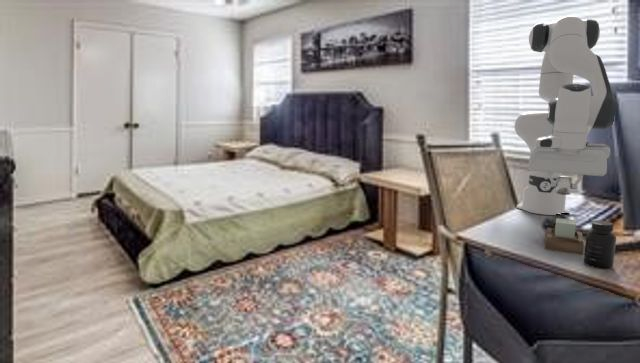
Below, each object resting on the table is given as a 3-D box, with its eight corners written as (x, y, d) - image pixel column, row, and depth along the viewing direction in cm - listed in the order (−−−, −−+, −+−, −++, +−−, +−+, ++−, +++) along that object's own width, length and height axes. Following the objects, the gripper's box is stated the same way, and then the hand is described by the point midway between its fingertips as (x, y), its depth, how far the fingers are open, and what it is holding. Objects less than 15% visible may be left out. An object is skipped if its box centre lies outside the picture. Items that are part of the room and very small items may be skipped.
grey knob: (555, 191, 133) (557, 175, 132) (570, 192, 131) (572, 176, 130) (555, 193, 130) (557, 177, 129) (570, 195, 128) (572, 178, 127)
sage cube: (554, 233, 136) (556, 218, 135) (573, 235, 134) (575, 220, 133) (554, 238, 132) (556, 222, 131) (573, 240, 130) (575, 224, 129)
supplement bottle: (590, 258, 124) (596, 217, 122) (617, 266, 119) (623, 223, 116) (578, 263, 121) (583, 221, 118) (604, 271, 115) (611, 228, 113)
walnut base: (544, 239, 140) (546, 227, 139) (580, 244, 136) (582, 231, 135) (544, 248, 132) (546, 236, 131) (583, 254, 127) (584, 241, 126)
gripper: (610, 142, 125) (603, 189, 128) (531, 138, 134) (526, 182, 138) (612, 145, 120) (605, 193, 123) (530, 140, 129) (525, 186, 132)
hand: (563, 187), depth 130 cm, fingers closed on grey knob, 4 cm apart
